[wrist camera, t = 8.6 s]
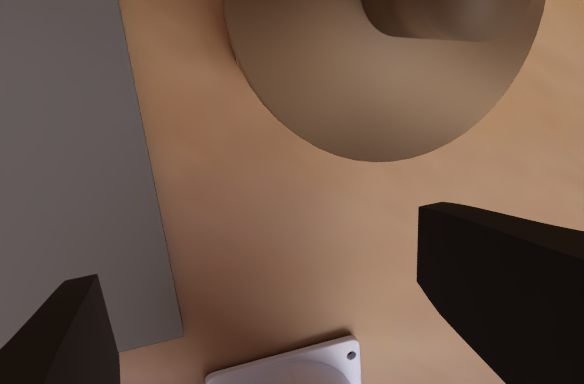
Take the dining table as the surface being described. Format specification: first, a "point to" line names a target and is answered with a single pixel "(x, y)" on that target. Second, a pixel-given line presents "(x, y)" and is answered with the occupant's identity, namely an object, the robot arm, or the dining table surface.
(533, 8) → the lid
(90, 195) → the mat
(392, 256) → the dining table surface
